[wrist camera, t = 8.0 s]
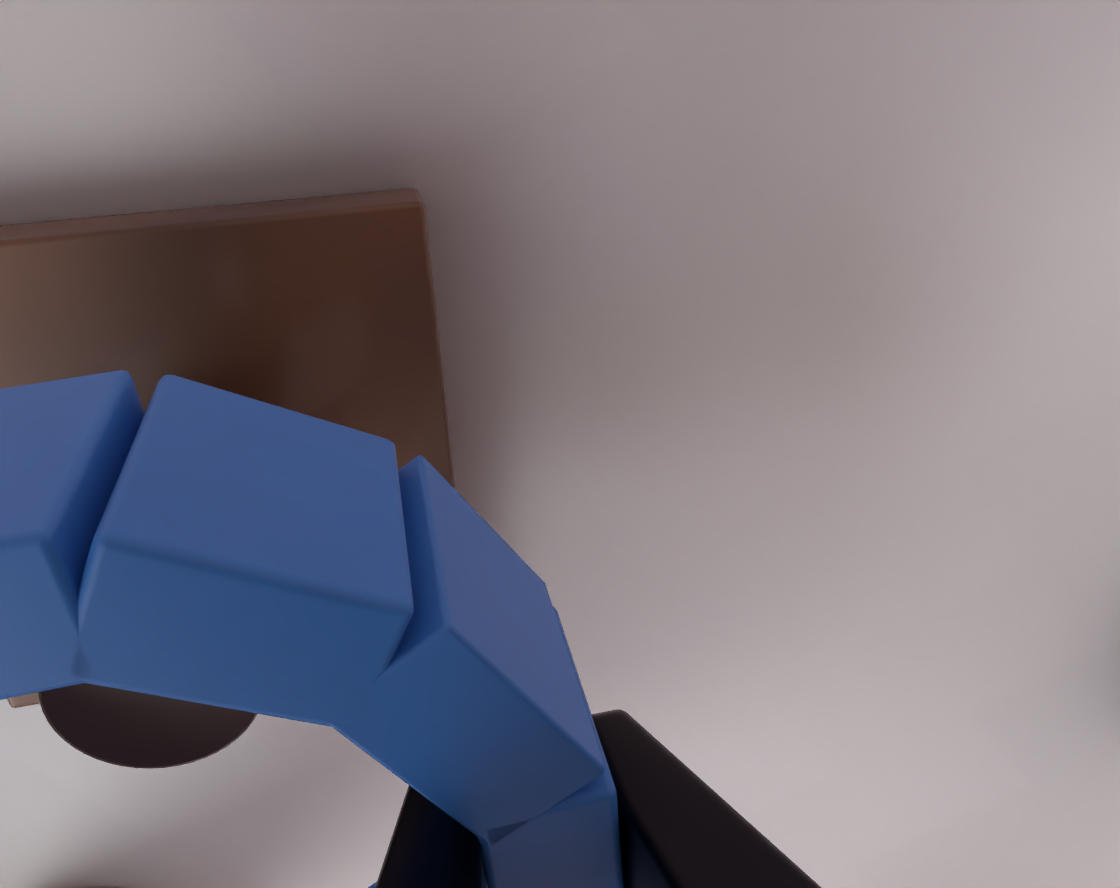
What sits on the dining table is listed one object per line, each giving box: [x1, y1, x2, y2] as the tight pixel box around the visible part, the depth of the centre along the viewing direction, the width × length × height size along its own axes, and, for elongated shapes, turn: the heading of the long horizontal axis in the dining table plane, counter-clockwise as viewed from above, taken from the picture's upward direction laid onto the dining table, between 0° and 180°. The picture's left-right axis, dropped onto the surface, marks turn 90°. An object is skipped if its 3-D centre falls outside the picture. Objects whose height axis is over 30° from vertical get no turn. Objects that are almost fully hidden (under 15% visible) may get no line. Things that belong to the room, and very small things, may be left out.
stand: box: [0, 188, 455, 768], centre depth 13 cm, size 8×8×6 cm
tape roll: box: [0, 370, 624, 888], centre depth 9 cm, size 9×9×3 cm
